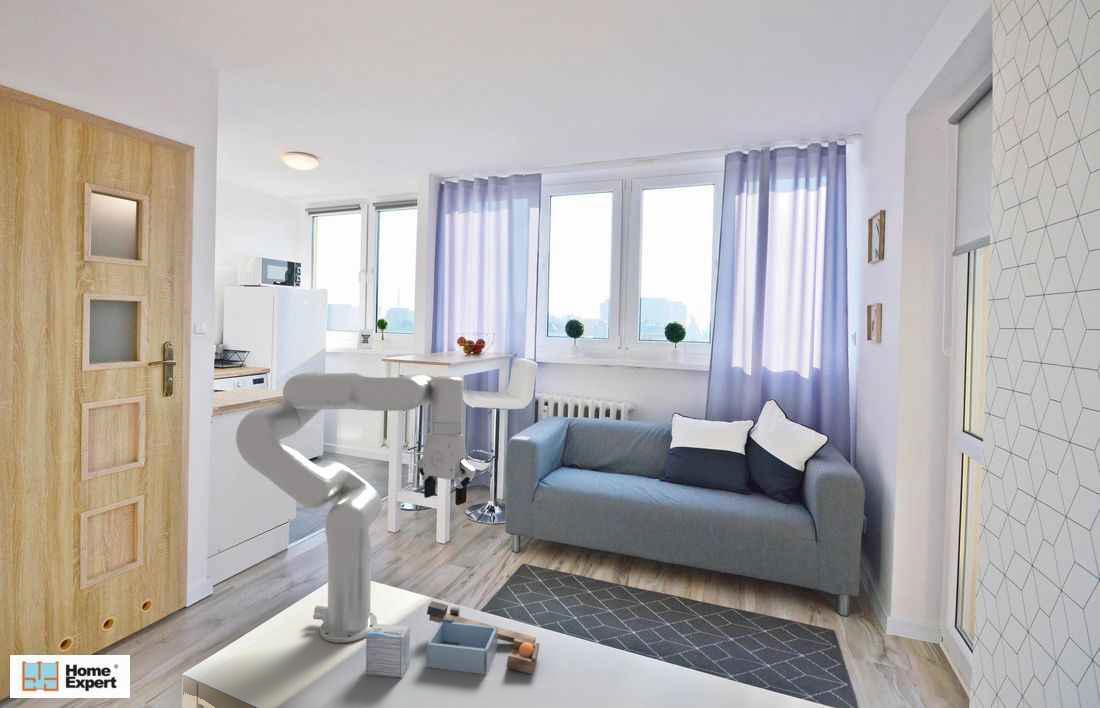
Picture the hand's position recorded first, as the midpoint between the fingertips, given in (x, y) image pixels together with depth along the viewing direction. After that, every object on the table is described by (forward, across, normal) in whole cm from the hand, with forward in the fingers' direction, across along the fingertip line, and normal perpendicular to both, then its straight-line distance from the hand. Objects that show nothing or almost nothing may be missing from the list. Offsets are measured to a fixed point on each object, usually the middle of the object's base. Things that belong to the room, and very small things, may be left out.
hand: (444, 499), depth 124 cm
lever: (+29, +13, -3) cm, 32 cm away
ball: (+30, +24, -1) cm, 38 cm away
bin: (+31, +11, -6) cm, 34 cm away
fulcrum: (+31, +4, -1) cm, 32 cm away
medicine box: (+32, +1, -18) cm, 36 cm away
